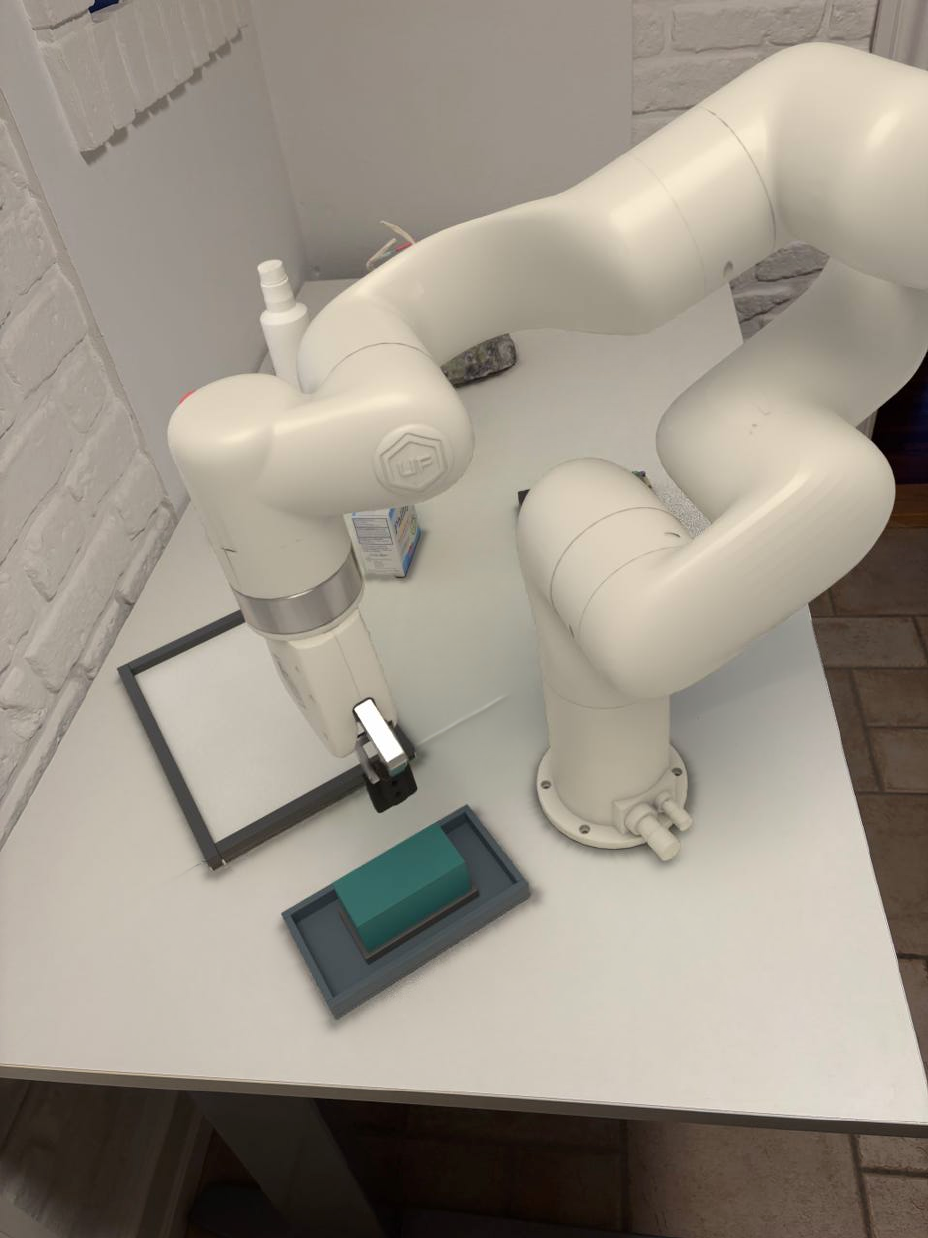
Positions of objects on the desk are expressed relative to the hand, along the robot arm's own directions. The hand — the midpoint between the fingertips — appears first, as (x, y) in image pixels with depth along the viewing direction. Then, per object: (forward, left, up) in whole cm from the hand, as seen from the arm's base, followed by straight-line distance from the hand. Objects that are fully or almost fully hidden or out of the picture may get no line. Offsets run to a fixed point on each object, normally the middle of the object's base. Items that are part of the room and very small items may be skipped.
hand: (364, 755), depth 68 cm
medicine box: (+36, -18, -15) cm, 43 cm away
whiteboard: (+23, +4, -15) cm, 28 cm away
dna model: (+48, -30, -15) cm, 59 cm away
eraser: (-4, +1, -14) cm, 15 cm away
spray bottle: (+80, -26, -15) cm, 86 cm away
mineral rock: (+65, -46, -15) cm, 81 cm away
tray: (-4, +2, -15) cm, 15 cm away
